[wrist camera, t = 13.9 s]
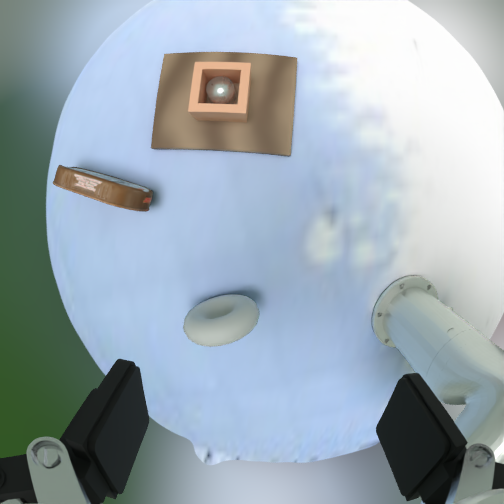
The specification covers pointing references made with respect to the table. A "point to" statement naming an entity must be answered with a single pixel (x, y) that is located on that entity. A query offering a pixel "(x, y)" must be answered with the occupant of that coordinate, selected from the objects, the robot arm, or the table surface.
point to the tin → (104, 188)
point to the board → (260, 103)
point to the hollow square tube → (220, 112)
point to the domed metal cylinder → (221, 90)
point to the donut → (221, 320)
